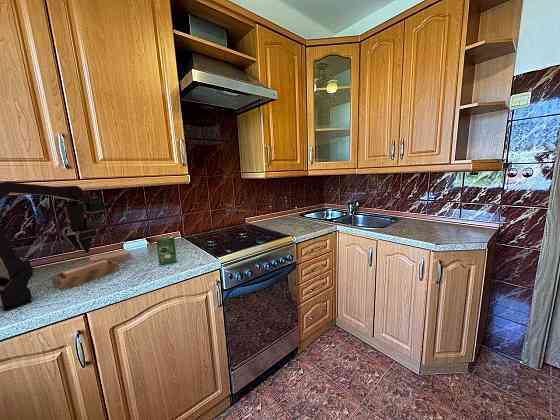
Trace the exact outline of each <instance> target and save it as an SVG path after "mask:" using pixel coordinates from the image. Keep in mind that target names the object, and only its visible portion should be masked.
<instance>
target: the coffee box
mask: <svg viewBox="0 0 560 420" xmlns="http://www.w3.org/2000/svg"><path fill="white" fill-rule="evenodd" d="M155 240H156V249H157V256H158V265H159V266H160V265H161V266H162V265H167V264H175V263H177V261H178V260H177V259H178V258H177V249H176V240H175V236H174V235H173V236H166V237H164V236H163V237H156V239H155Z"/></svg>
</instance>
